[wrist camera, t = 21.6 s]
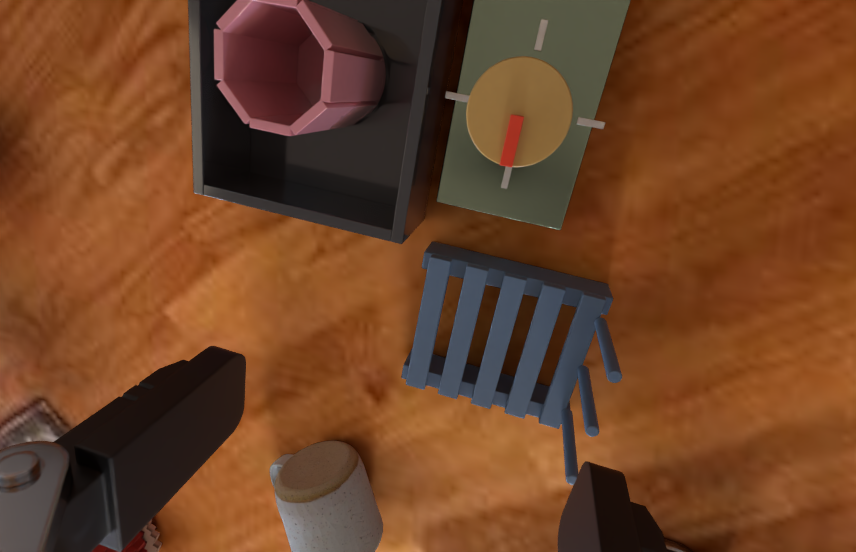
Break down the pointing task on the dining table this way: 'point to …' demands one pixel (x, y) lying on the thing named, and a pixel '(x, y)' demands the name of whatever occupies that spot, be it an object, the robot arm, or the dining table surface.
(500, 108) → the tap knob
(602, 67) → the tap panel
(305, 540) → the ceramic mug
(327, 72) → the cup
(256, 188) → the dark grey open box
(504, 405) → the drying rack
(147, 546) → the cake
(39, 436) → the dining table surface
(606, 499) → the robot arm
